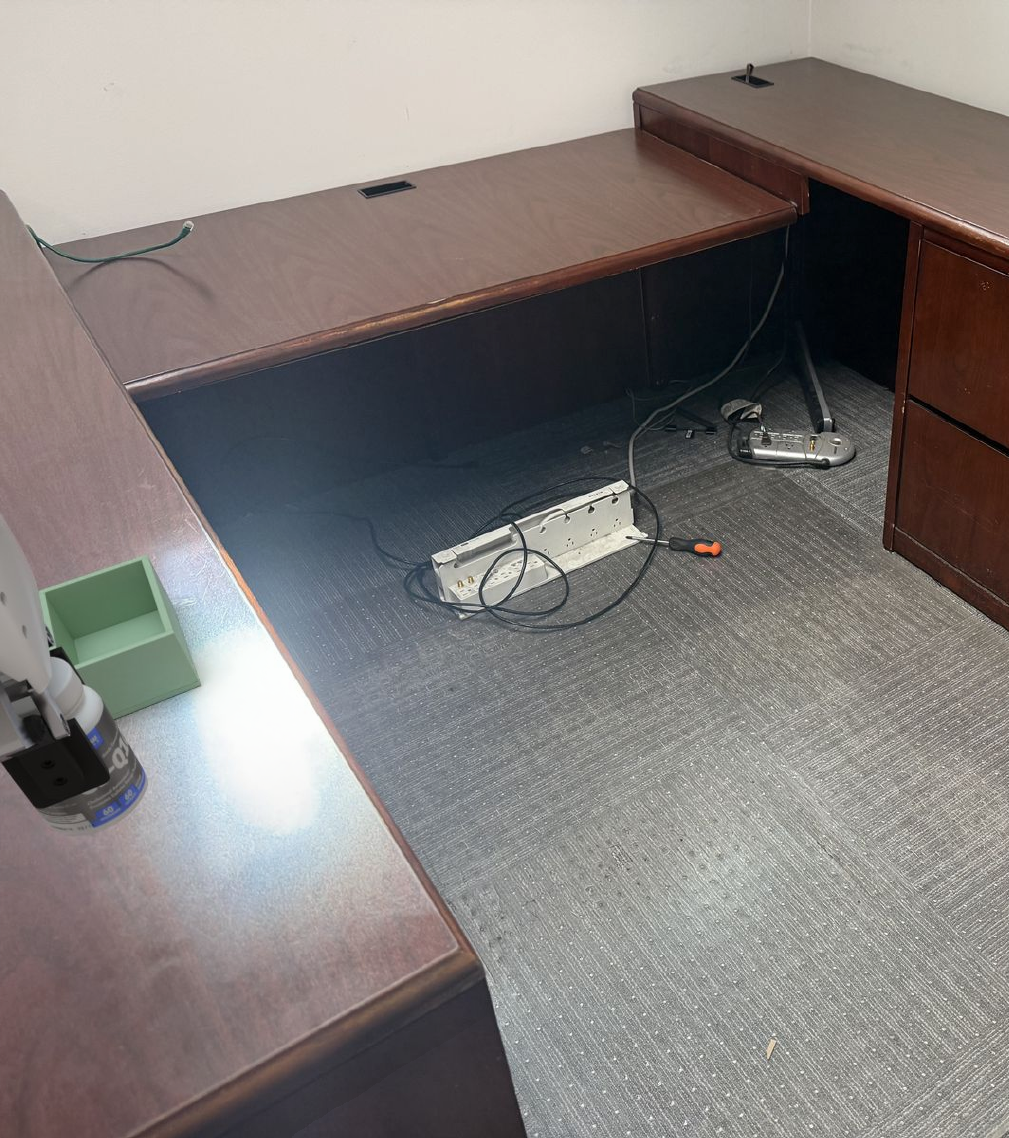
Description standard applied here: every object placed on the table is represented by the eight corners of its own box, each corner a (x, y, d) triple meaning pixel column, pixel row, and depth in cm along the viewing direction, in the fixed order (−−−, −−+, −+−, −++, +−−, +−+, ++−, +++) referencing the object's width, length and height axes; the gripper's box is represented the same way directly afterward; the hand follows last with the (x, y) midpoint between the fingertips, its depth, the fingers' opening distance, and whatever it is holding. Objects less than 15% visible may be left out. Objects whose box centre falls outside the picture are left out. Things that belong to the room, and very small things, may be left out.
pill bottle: (121, 840, 51) (43, 726, 45) (28, 838, 51) (-61, 724, 46) (167, 764, 55) (99, 650, 49) (79, 762, 55) (3, 648, 49)
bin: (201, 685, 78) (173, 632, 75) (88, 730, 75) (54, 677, 72) (173, 605, 86) (146, 554, 82) (68, 643, 82) (36, 591, 79)
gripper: (-252, 373, 43) (-29, 680, 54) (-301, 599, 32) (-8, 923, 43) (-43, 325, 46) (126, 625, 58) (-21, 516, 35) (182, 840, 47)
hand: (66, 751), depth 50 cm, fingers closed on pill bottle, 4 cm apart
